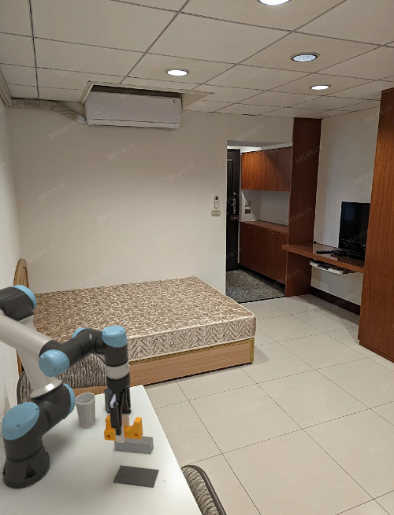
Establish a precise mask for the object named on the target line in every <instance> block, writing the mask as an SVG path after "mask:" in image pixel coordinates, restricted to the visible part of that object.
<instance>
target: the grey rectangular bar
mask: <svg viewBox="0 0 394 515" xmlns="http://www.w3.org/2000/svg"><path fill="white" fill-rule="evenodd" d="M113 446H114V447H113V448H114V451H121V452H128V453H129V452H130V453H136V454H137V453H139V454H148V455H151V454H152V451H153V448H154V437H153V436H145V435H144V436H143V435H142V438H141V440H140V439H130V438H125V442H124V443H120V442H116V441H113Z"/></svg>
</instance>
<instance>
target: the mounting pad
mask: <svg viewBox="0 0 394 515" xmlns="http://www.w3.org/2000/svg"><path fill="white" fill-rule="evenodd" d="M159 471H160V469H155V468H147V467H140V466H128V465H122V464H121V465H120V466H119V468H118V470H117V472H116V474H115V475H114V476H115V477H114V479H113V481H112V483H114V484H121V485H128V486H129V485H131V486H137V487H144V488H145V487H146V488H151V489H152V488H153V489H154V487H155V485H156V484H155V483H156V480H157V478H158V474H159Z"/></svg>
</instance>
